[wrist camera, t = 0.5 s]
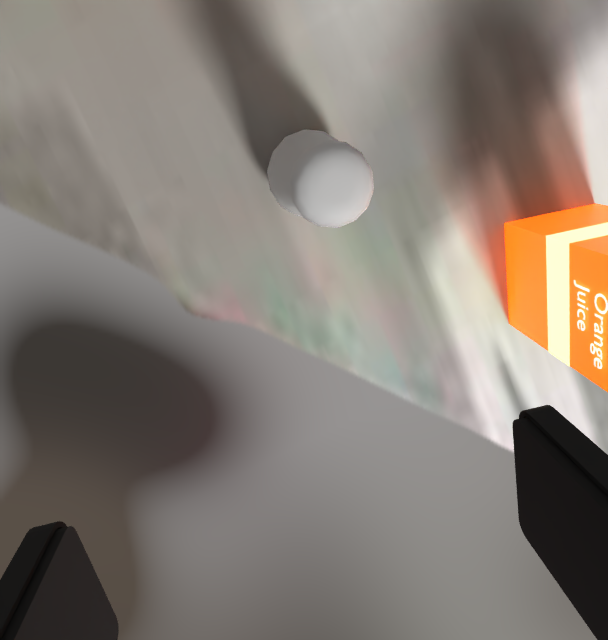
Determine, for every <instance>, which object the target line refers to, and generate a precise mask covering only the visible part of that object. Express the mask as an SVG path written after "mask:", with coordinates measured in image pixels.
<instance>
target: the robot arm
mask: <svg viewBox="0 0 608 640" xmlns="http://www.w3.org/2000/svg"><path fill="white" fill-rule="evenodd" d="M513 439H514V454H515V468H516V484H517V499H518V513H519V522H520V526H521V529H522V531H523V533H524V535H525V537H526V538H527V540H528V541H529V543H530V544H531V546H532V547H533V548H534V550H535V551H536V553H537V554H538V556H539V557H540V558H541V560H542V561H543V563H544V564H545V566H546V567H547V569H548V570H549V571H550V573H551V574H552V576H553V577H554V578H555V580H556V581H557V583H558V584H559V586H560V587H561V588H562V590H563V591H564V593H565V594H566V596H567V597H568V598H569V600H570V601H571V603H572V604H573V605H574V607H575V608H576V610H577V611H578V613H579V614H580V616H581V617H582V618H583V620H584V621H585V623H586V624H587V626H588V627H589V628H590V630H591V631H592V633H593V634H594V636H595V637H596V638H597V640H608V455H607V454H606V453H605V452H604V451H603V450H601V449H600V448H599V447H598V446H597V445H596V444H594V443H593V442H592V441H591V440H590V439H589V438H588V437H586V436H585V435H584V434H583V433H582V432H581V431H580V430H578V429H577V428H576V427H575V426H574V425H573V424H572V423H570V422H569V421H568V420H567V419H566V418H565V417H563V416H562V415H561V414H560V413H559V412H558V411H557V410H555V409H554V408H553V407H551V406H550V405H545V406H541V407H537V408H532V409H528V410H524V411H522V412H520V415H519V419H517V420H514V421H513ZM117 638H118V621H117V618H116V615H115V613H114V611H113V609H112V607H111V604H110V602H109V600H108V598H107V596H106V594H105V592H104V589H103V587H102V585H101V583H100V581H99V579H98V577H97V575H96V572H95V570H94V568H93V566H92V564H91V562H90V559H89V557H88V555H87V553H86V551H85V549H84V547H83V544H82V542H81V540H80V538H79V536H78V534H77V532H76V530H75V529H74V528H73V527H72V526H69V527H67V526H66V524H65V523H63V522H54V523H50V524H47V525H42V526H38V527H34V528H32V529H30V530H29V531H28V533H27V534H26V536H25V538H24V539H23V541H22V543H21V545H20V547H19V548H18V550H17V552H16V553H15V555H14V557H13V558H12V560H11V562H10V564H9V565H8V567H7V569H6V571H5V573H4V574H3V576H2V578H1V580H0V640H117Z"/></svg>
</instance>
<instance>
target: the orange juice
mask: <svg viewBox="0 0 608 640" xmlns="http://www.w3.org/2000/svg"><path fill="white" fill-rule="evenodd" d="M504 233H505V253H506V272H507V292H508V312H509V324H510V325H512V326H513V327H515V328H516V329H517V330H519V331H520V332H522V333H523V334H525V335H526V336H528V337H529V338H530V339H532V340H533V341H535V342H536V343H538V344H539V345H540V346H542V347H543V348H545V349H546V350H548V352H549V353H551V354H552V355H554V356H555V357H556V358H558V359H559V360H561V361H562V362H564V363H565V364H566V365H568V366H571V367H572V368H574V369H575V370H577V371H578V372H579V373H581V374H582V375H584V376H585V377H587V378H588V379H590V380H591V381H592V382H594V383H595V384H597V385H598V386H600V387H601V388H602V389H604V390H605V391H607V392H608V206H606V205H600V204H590V205H586V206H581V207H576V208H572V209H567V210H562V211H558V212H553V213H548V214H544V215H539V216H534V217H530V218H525V219H520V220H515V221H511V222H506V223H504Z"/></svg>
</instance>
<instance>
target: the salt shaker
mask: <svg viewBox="0 0 608 640" xmlns="http://www.w3.org/2000/svg"><path fill="white" fill-rule="evenodd" d="M267 174H268V180H269V185H270V191H271V192H272V194H273V195H274V197H275V198H276V200H277V201H278V203H279V205H280V206H281V207H282V208H284V209H286V210H288V211H289V212H291V213H293V214H295V215H297V216H302V217H303V218H305V219H307V220H308V221H310V222H312V223H314V224H315V225H317V226H322V227H334V228H339V227H341V226H343V225H346V224H348V223H351V222H353V221H355V220H356V219H357V218H358V217H359V216H360V215H361V214H362V213H363V212H364V211H365V210H366V209H367V208H368V206H369V203H370V200H371V197H372V194H373V191H374V185H373V171H372V169H371V168H370V166H369V164H368V163H367V161H366V159H365V158H364V156H363V154H362V153H361V152H360V151H358V150H357V149H355V148H354V147H352V146H351V145H349V144H348V143H346V142H339V141H338V140H336V139H335V138H333V137H332V136H330V135H329V134H327V133H326V132H324V131H318V130H306V129H304V130H301V131H299V132H296V133H294V134H291V135H288V136H286V137H285V138H284V139H283V140H282V142H281V143H280V144H279V145H278V146H277V147H276V149H275V150H274V151H273V153H272V156H271V159H270V163H269V166H268V169H267Z"/></svg>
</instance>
